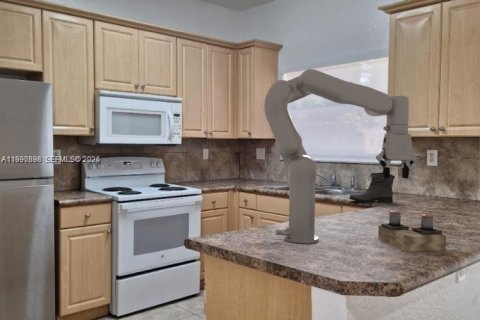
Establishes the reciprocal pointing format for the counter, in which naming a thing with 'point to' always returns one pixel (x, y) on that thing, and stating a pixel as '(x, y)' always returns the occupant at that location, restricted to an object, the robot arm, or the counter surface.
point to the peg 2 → (427, 222)
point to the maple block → (412, 237)
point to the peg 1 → (394, 218)
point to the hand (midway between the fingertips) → (395, 177)
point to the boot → (376, 190)
